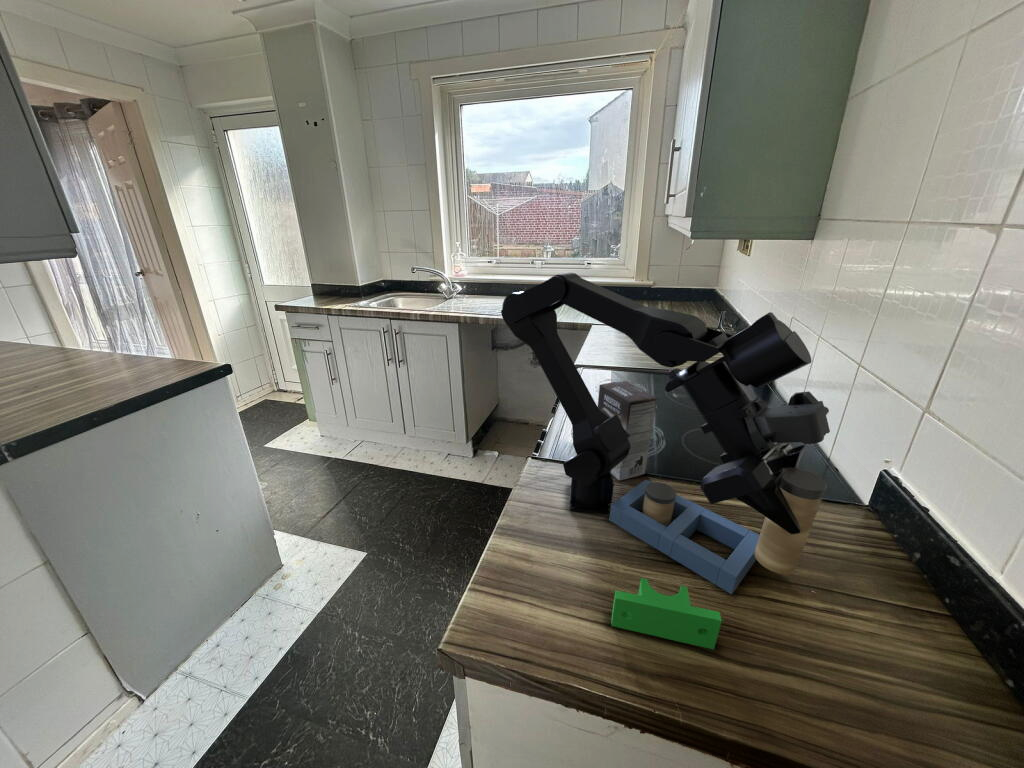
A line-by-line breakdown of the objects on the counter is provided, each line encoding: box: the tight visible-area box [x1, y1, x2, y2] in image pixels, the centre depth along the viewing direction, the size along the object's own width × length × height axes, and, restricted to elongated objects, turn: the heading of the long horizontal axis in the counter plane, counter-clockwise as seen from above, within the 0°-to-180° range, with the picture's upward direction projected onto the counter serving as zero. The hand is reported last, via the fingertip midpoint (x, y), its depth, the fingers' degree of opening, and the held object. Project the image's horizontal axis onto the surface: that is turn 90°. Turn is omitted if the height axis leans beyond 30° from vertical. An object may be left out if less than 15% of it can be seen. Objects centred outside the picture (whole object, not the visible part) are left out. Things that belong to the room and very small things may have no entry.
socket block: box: [608, 479, 760, 595], centre depth 61 cm, size 19×10×3 cm, turn 42°
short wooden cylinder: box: [641, 481, 677, 527], centre depth 63 cm, size 4×4×6 cm
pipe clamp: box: [610, 577, 723, 650], centre depth 47 cm, size 11×4×5 cm, turn 76°
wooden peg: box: [754, 467, 828, 576], centre depth 47 cm, size 4×4×12 cm
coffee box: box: [597, 380, 658, 482], centre depth 76 cm, size 9×6×16 cm
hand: (802, 523), depth 46 cm, fingers closed on wooden peg, 4 cm apart
